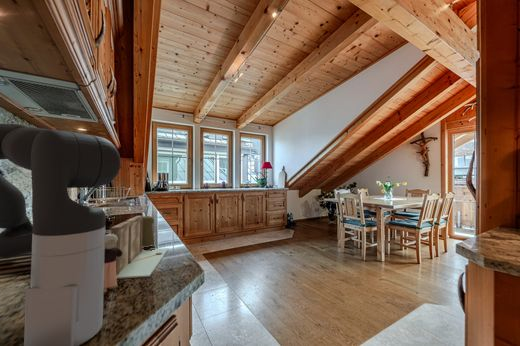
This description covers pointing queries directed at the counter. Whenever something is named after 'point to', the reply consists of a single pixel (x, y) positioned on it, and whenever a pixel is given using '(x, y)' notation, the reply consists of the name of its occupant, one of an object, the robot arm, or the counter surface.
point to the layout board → (143, 264)
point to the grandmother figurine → (111, 262)
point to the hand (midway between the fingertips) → (132, 235)
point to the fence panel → (135, 236)
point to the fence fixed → (121, 244)
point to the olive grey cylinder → (147, 231)
